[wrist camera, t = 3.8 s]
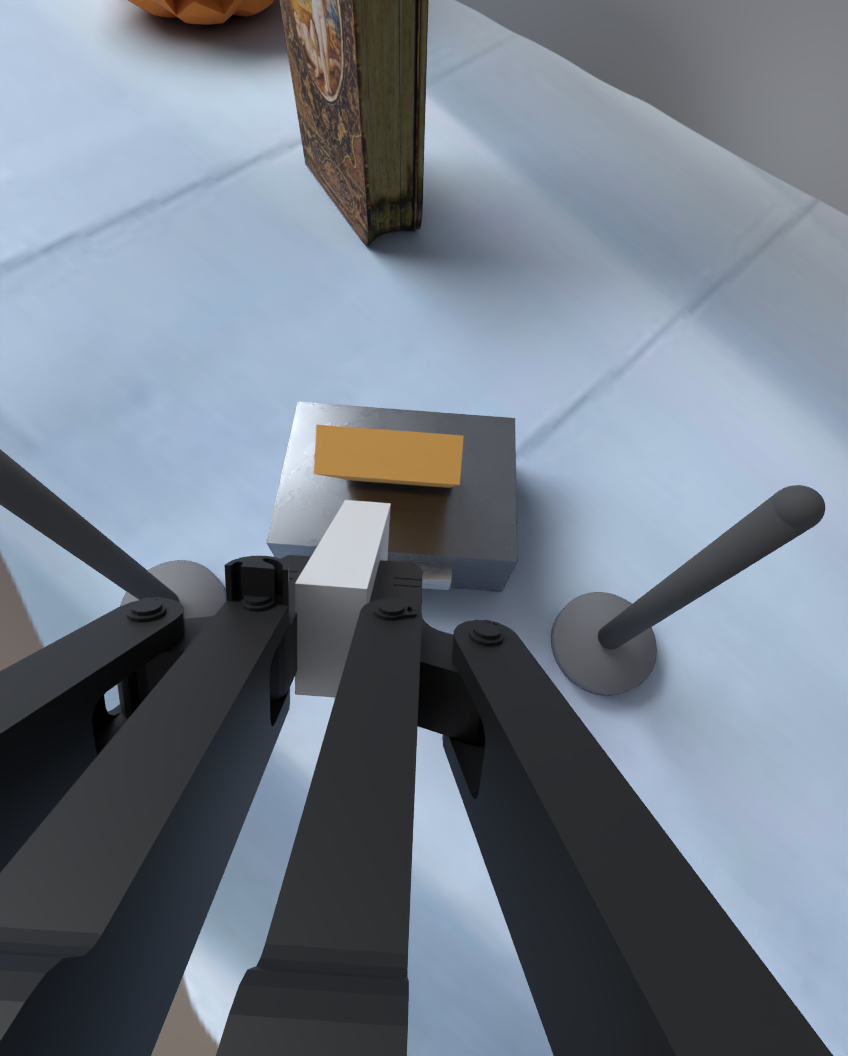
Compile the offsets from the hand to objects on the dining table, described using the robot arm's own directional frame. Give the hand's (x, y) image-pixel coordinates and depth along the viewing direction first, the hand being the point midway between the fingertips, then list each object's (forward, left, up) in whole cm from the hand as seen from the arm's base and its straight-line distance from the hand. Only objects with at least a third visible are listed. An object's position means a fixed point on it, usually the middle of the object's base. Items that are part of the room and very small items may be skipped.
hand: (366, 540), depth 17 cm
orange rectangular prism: (+4, -8, -10) cm, 13 cm away
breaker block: (+4, -8, -16) cm, 18 cm away
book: (+28, -35, -16) cm, 48 cm away
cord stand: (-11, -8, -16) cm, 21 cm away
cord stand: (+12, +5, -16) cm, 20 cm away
